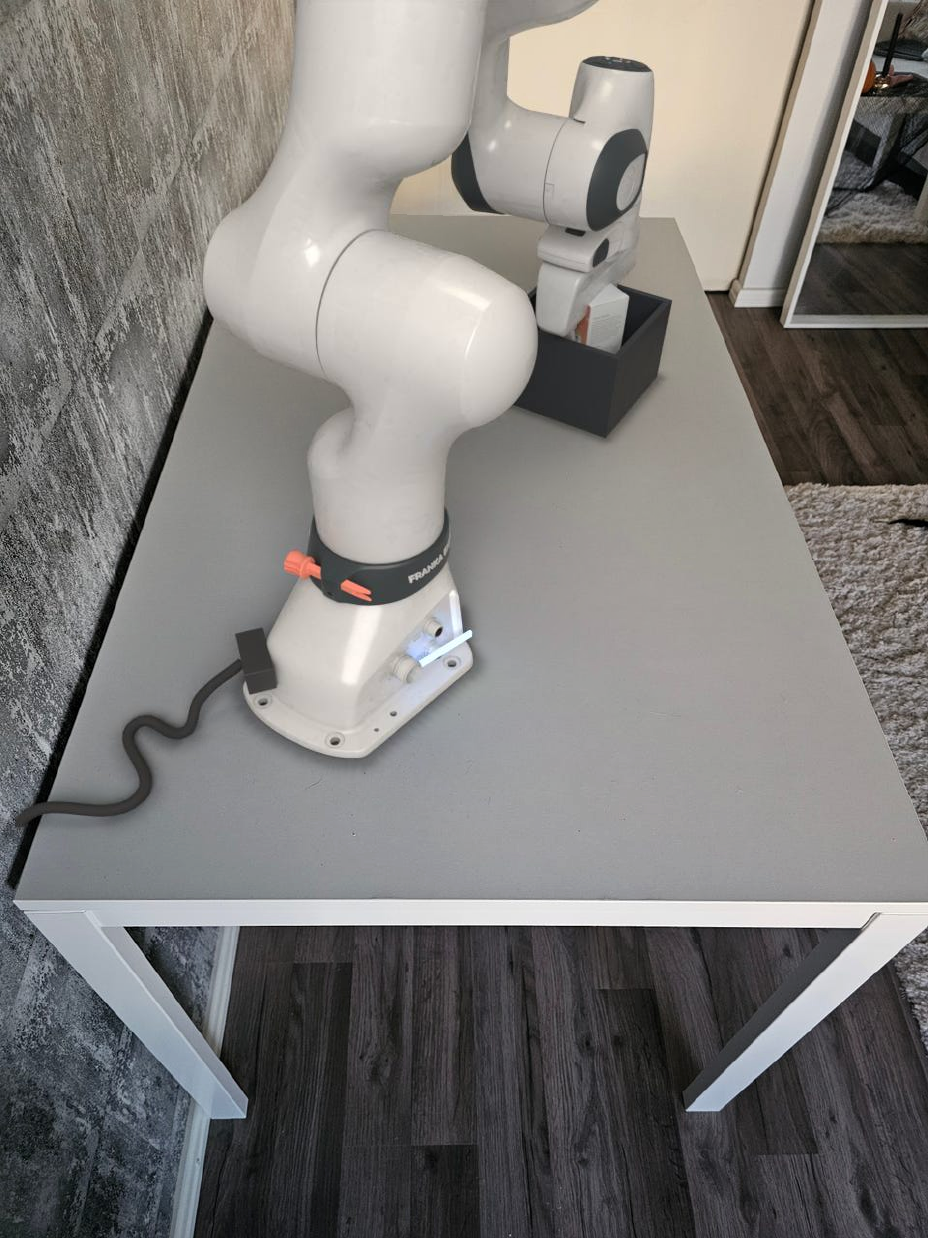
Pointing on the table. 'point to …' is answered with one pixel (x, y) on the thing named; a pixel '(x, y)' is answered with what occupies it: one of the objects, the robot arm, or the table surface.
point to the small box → (604, 320)
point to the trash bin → (598, 369)
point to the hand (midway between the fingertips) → (583, 333)
